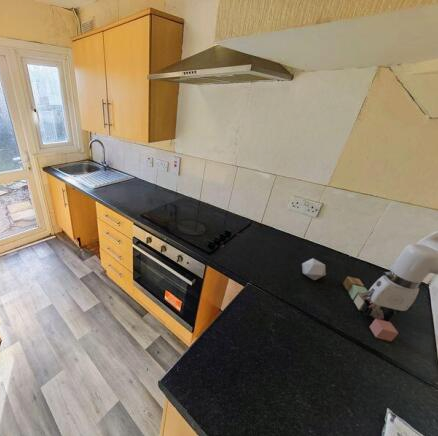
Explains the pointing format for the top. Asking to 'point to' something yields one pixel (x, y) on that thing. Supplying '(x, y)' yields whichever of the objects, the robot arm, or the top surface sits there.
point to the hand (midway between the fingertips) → (374, 315)
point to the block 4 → (383, 330)
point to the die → (313, 269)
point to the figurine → (377, 313)
